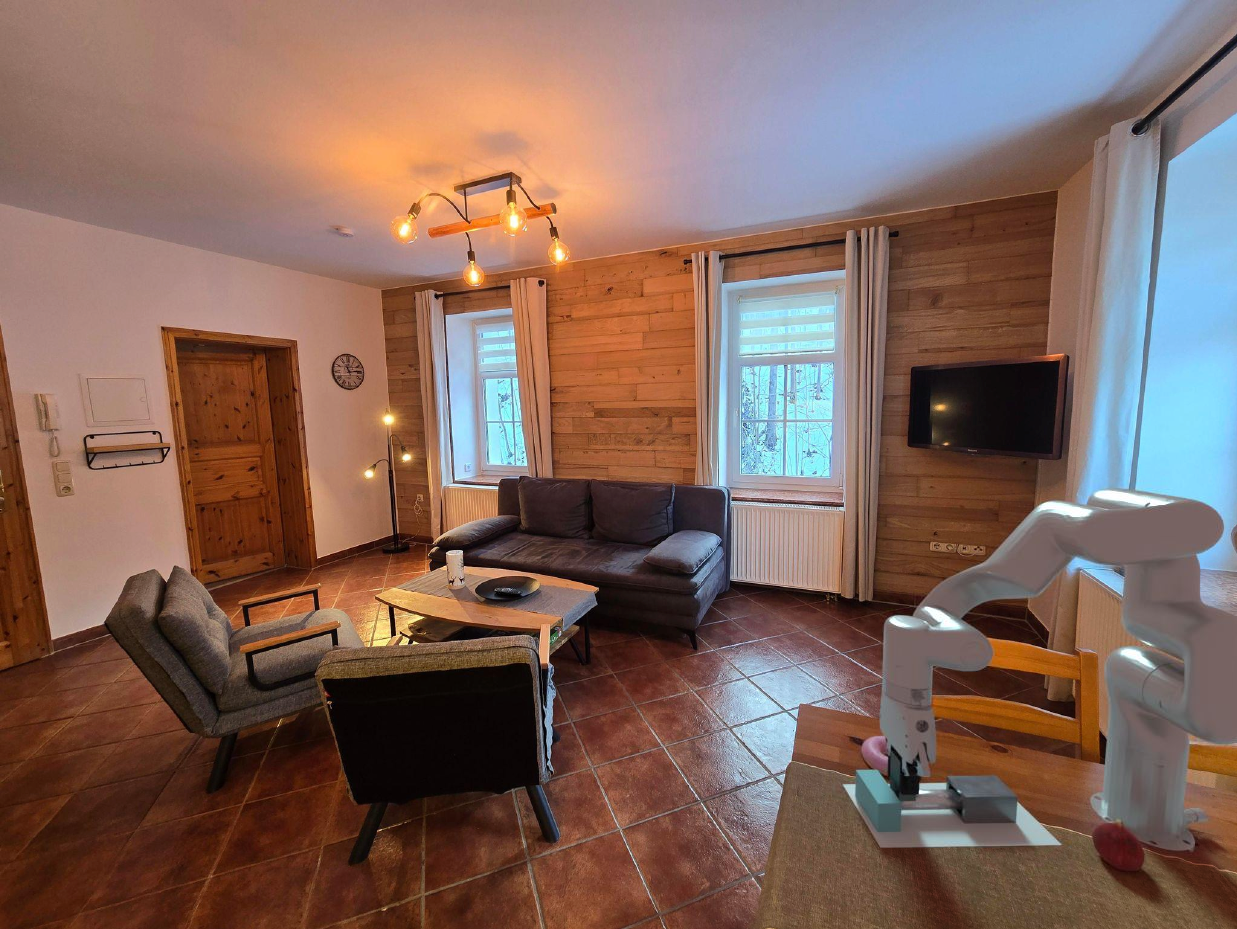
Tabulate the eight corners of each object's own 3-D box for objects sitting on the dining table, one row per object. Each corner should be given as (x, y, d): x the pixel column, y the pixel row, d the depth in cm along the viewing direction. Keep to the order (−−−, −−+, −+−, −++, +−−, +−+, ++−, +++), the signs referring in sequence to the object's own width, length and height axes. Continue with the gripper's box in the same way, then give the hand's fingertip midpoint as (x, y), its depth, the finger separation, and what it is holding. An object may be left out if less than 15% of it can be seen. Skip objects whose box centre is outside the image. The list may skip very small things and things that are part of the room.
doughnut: (866, 780, 98) (866, 760, 98) (856, 744, 108) (857, 727, 108) (928, 791, 95) (929, 771, 94) (912, 753, 105) (913, 735, 105)
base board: (997, 787, 95) (997, 782, 95) (1061, 851, 81) (1062, 845, 81) (842, 790, 95) (842, 784, 95) (880, 853, 81) (880, 847, 81)
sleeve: (994, 800, 90) (995, 775, 90) (1016, 822, 85) (1017, 796, 85) (945, 801, 91) (946, 776, 90) (964, 823, 86) (965, 797, 85)
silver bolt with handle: (976, 800, 89) (979, 748, 88) (988, 813, 86) (991, 760, 85) (872, 801, 90) (874, 750, 89) (881, 814, 87) (883, 762, 86)
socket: (876, 795, 92) (877, 769, 92) (900, 831, 84) (901, 803, 84) (855, 796, 92) (855, 770, 92) (877, 832, 84) (878, 803, 84)
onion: (1153, 888, 75) (1158, 840, 74) (1109, 881, 76) (1113, 834, 75) (1122, 854, 80) (1126, 809, 80) (1081, 849, 81) (1085, 804, 81)
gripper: (959, 716, 78) (954, 822, 79) (901, 664, 94) (898, 753, 96) (912, 716, 78) (908, 823, 80) (862, 664, 94) (859, 754, 96)
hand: (902, 784), depth 88 cm, fingers closed on silver bolt with handle, 3 cm apart
